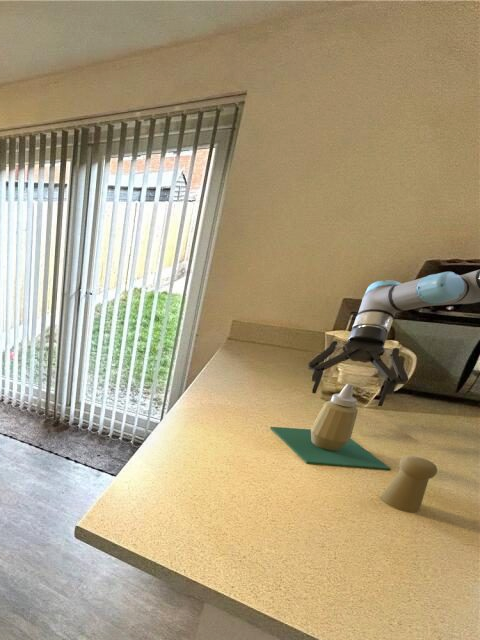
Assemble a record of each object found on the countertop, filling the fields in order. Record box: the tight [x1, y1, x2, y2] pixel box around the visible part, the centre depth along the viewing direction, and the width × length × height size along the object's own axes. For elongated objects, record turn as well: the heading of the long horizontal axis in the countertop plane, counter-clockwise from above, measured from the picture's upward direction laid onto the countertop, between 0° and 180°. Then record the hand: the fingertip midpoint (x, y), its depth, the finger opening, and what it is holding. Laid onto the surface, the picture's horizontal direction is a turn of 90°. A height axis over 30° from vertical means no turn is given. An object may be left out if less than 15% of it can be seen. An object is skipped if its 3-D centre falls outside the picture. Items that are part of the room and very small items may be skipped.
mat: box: [270, 426, 391, 471], centre depth 105 cm, size 18×18×1 cm
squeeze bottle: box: [310, 382, 359, 451], centre depth 101 cm, size 8×8×18 cm
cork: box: [379, 455, 438, 513], centre depth 83 cm, size 6×6×11 cm
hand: (345, 397), depth 108 cm, fingers open, 13 cm apart
